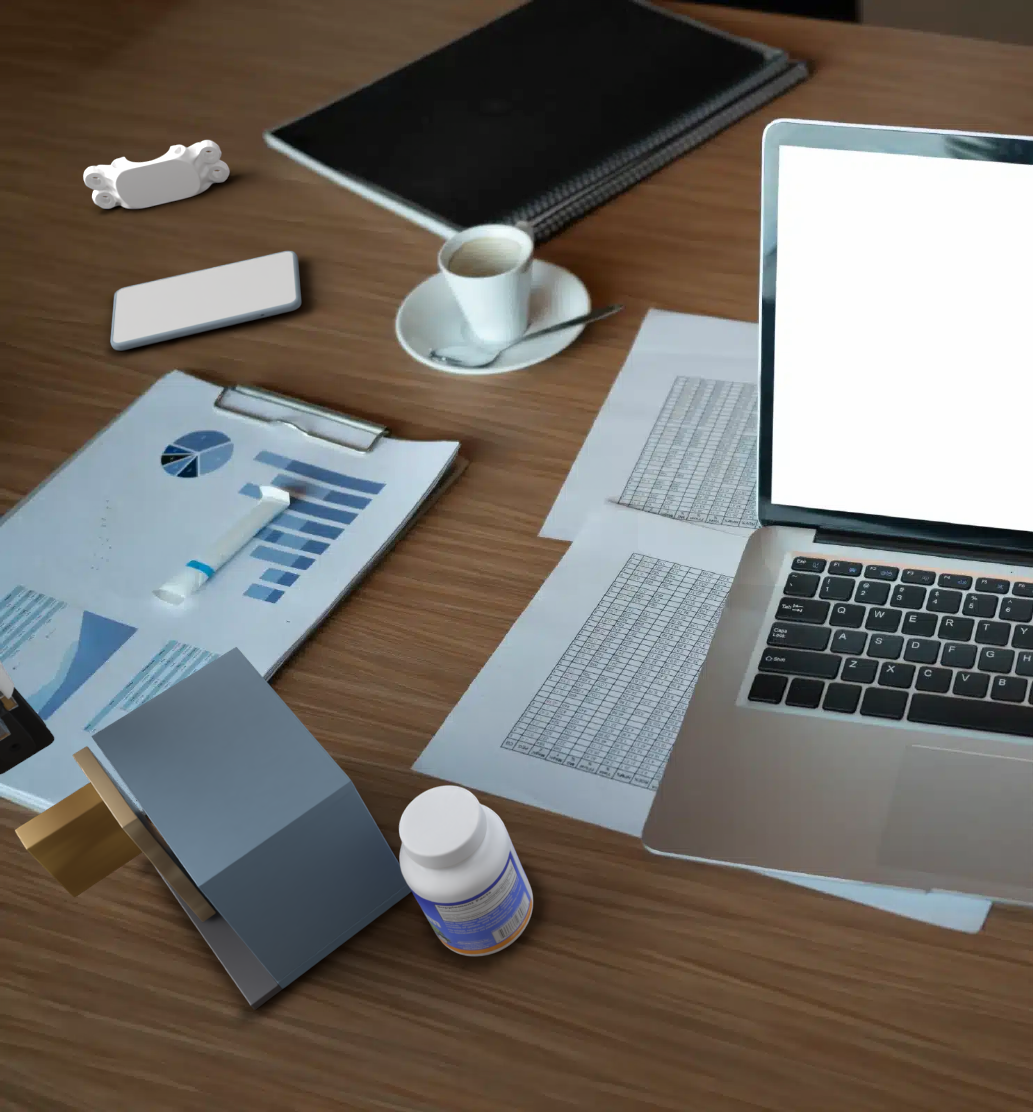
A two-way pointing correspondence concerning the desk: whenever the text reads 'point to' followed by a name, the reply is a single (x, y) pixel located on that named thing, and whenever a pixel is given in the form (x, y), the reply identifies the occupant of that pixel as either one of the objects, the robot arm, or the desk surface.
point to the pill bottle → (464, 871)
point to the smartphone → (205, 300)
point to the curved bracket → (157, 177)
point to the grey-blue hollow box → (255, 823)
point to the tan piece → (102, 838)
